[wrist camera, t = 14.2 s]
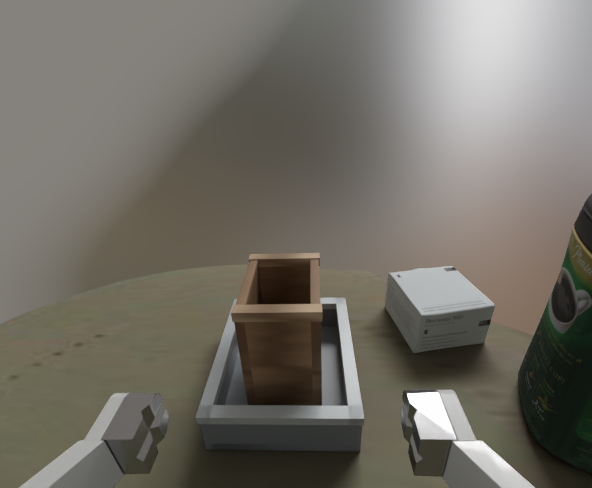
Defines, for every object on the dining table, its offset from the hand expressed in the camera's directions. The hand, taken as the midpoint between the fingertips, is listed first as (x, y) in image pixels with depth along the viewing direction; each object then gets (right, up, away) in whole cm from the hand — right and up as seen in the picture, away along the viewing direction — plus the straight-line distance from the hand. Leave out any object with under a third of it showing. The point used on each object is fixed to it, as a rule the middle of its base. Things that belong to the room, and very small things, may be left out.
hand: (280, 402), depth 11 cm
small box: (+15, -4, +26) cm, 30 cm away
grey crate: (0, -7, +20) cm, 21 cm away
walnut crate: (0, -6, +19) cm, 20 cm away
